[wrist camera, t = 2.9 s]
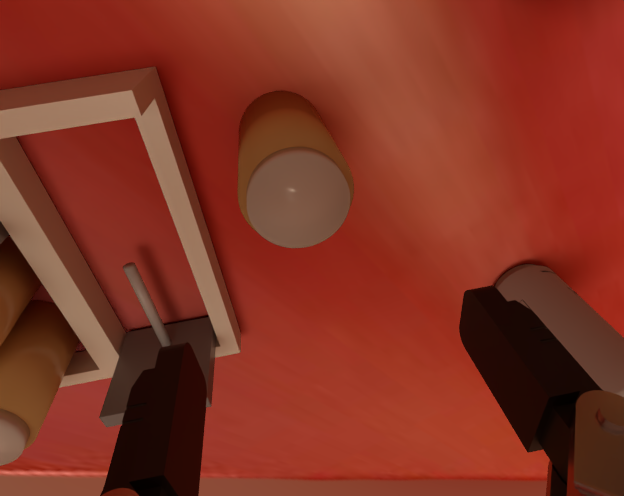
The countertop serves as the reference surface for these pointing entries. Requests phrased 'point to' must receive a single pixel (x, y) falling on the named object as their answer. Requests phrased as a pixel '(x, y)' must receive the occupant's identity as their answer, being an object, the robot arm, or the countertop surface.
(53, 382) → the jar
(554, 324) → the energy drink can
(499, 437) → the countertop surface
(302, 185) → the jar
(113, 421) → the pusher
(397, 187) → the countertop surface
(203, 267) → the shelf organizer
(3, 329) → the jar
